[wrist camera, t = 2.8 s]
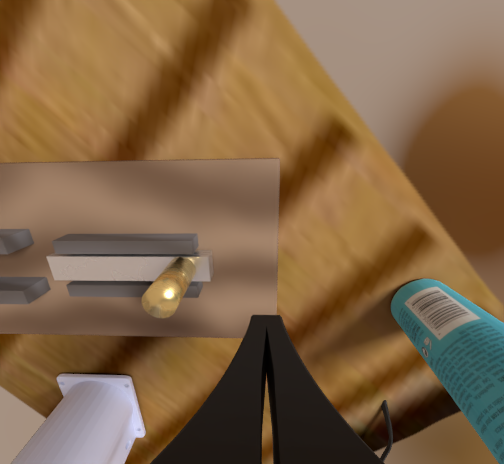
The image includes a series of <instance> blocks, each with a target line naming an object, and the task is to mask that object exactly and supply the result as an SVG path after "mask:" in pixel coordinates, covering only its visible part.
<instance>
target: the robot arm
mask: <svg viewBox="0 0 504 464" xmlns="http://www.w3.org/2000/svg"><path fill="white" fill-rule="evenodd" d="M266 372H267V382H268V393H269V403H270V413H271V423H272V435H273V463H274V464H384V462H383V461H382V460H381V459H380V458H379V457H378V456H377V455H376V454H375V453H374V452H373V451H372V450H371V449H370V448H369V447H368V446H367V445H366V444H365V442H364V441H363V440H362V439H361V438H360V437H359V436H358V435H357V434H356V433H355V431H354V430H353V429H352V428H351V427H350V426H349V424H348V423H347V422H346V421H345V420H344V418H343V417H342V416H341V415H340V414H339V412H338V411H337V410H336V409H335V408H334V406H333V405H332V404H331V403H330V401H329V400H328V399H327V397H326V396H325V395H324V393H323V392H322V391H321V389H320V388H319V386H318V385H317V383H316V382H315V381H314V379H313V378H312V376H311V375H310V373H309V371H308V370H307V368H306V367H305V365H304V363H303V362H302V360H301V358H300V357H299V355H298V353H297V351H296V349H295V347H294V345H293V344H292V342H291V340H290V337H289V335H288V333H287V331H286V328H285V326H284V323H283V320H282V317H281V316H280V315H252V316H251V319H250V323H249V326H248V329H247V331H246V334H245V336H244V338H243V340H242V342H241V345H240V347H239V349H238V351H237V353H236V355H235V356H234V358H233V360H232V362H231V364H230V365H229V367H228V369H227V370H226V372H225V374H224V375H223V377H222V378H221V380H220V381H219V383H218V384H217V386H216V387H215V389H214V390H213V391H212V393H211V394H210V396H209V397H208V398H207V400H206V401H205V402H204V404H203V405H202V406H201V408H200V409H199V410H198V411H197V413H196V414H195V415H194V416H193V417H192V418H191V420H190V421H189V422H188V423H187V424H186V426H185V427H184V428H183V429H182V430H181V431H180V433H179V434H178V435H177V436H176V437H175V438H174V439H173V440H172V441H171V442H170V443H169V444H168V446H167V447H166V448H165V449H164V450H163V451H162V452H161V453H160V454H159V455H158V456H157V457H156V458H155V459H154V460H153V461H152V462H151V463H150V464H262V424H263V410H264V397H265V384H266ZM57 382H58V384H59V387H60V389H61V392H62V394H63V396H64V398H63V399H62V400H61V401H60V403H59V404H58V405H57V406H56V408H55V409H54V410H53V411H52V413H51V414H50V415H49V416H48V418H47V419H46V420H45V421H44V423H43V424H42V425H41V426H40V428H39V429H38V430H37V431H36V433H35V434H34V435H33V436H32V438H31V439H30V440H29V442H28V443H27V444H26V445H25V446H24V448H23V449H22V450H21V451H20V453H19V454H18V455H17V456H16V458H15V459H14V460H13V461H12V463H11V464H124V463H125V461H126V458H127V456H128V454H129V452H130V449H131V447H132V445H133V443H134V440H135V438H136V437H140V438H141V437H144V435H145V433H146V431H145V428H144V424H143V420H142V416H141V412H140V409H139V405H138V401H137V397H136V393H135V390H134V386H133V382H132V379H131V377H130V376H127V375H93V374H60V375H59V376H58V377H57Z"/></svg>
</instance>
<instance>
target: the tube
mask: <svg viewBox="0 0 504 464" xmlns="http://www.w3.org/2000/svg"><path fill="white" fill-rule="evenodd" d="M391 312H392V315H393V317H394V318H395V320H396V321H397V323H398V324H399V325H400V327H401V328H402V329H403V331H404V332H405V334H406V335H407V336H408V338H409V339H410V340H411V342H412V343H413V345H414V346H415V347H416V349H417V350H418V351H419V353H420V354H421V355H422V357H423V358H424V360H425V361H426V362H427V364H428V365H429V366H430V368H431V369H432V371H433V372H434V373H435V375H436V376H437V377H438V379H439V380H440V382H441V383H442V384H443V386H444V387H445V388H446V390H447V391H448V393H449V394H450V395H451V397H452V398H453V400H454V401H455V402H456V404H457V405H458V407H459V408H460V409H461V411H462V412H463V413H464V415H465V416H466V418H467V419H468V420H469V422H470V423H471V425H472V426H473V428H474V429H475V430H476V432H477V433H478V434H479V436H480V437H481V439H482V440H483V442H484V443H485V444H486V446H487V447H488V449H489V450H490V451H491V453H492V454H493V456H494V457H495V458H496V460H497V461H498V463H499V464H504V323H502V322H501V321H499V320H498V319H496V318H495V317H493V316H492V315H490V314H489V313H487V312H486V311H484V310H483V309H481V308H480V307H478V306H476V305H475V304H473V303H472V302H470V301H469V300H467V299H466V298H464V297H463V296H461V295H460V294H458V293H457V292H455V291H454V290H452V289H451V288H449V287H448V286H446V285H444V284H443V283H441V282H439V281H436V280H433V279H419V280H416V281H413V282H410V283H408V284H406V285H405V286H403V287H402V288H400V289H399V290H398V291H397V293H396V294H395V295H394V297H393V300H392V302H391Z"/></svg>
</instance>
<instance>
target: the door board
mask: <svg viewBox="0 0 504 464" xmlns="http://www.w3.org/2000/svg"><path fill="white" fill-rule="evenodd" d="M279 176H280V159H279V158H254V159H197V160H139V161H82V162H25V163H0V333H6V334H58V335H109V336H161V337H212V338H244V336H245V334H246V331H247V329H248V326H249V323H250V319H251V316H252V315H277V272H278V224H279ZM196 250H212V259H213V271H214V274H213V276H212V279H211V281H210V282H208V281H191V283H190V285H189V287H188V289H187V290H186V292H185V294H184V296H183V298H182V300H181V302H180V303H179V305H178V307H177V309H176V311H175V312H174V314H173V315H171V316H170V317H167V318H157V317H154V316H151V315H150V314H148V313H147V312H146V311H145V309H144V308H143V306H142V296H143V294H144V293H145V292H146V291H147V290H148V288H149V287H150V286H151V285H152V283H153V282H154V281H81V280H54V277H53V275H52V272H51V269H50V266H49V263H48V260H47V257H46V256H48V255H50V254H52V253H54V252H55V253H56V254H194V252H195V251H196Z"/></svg>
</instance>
